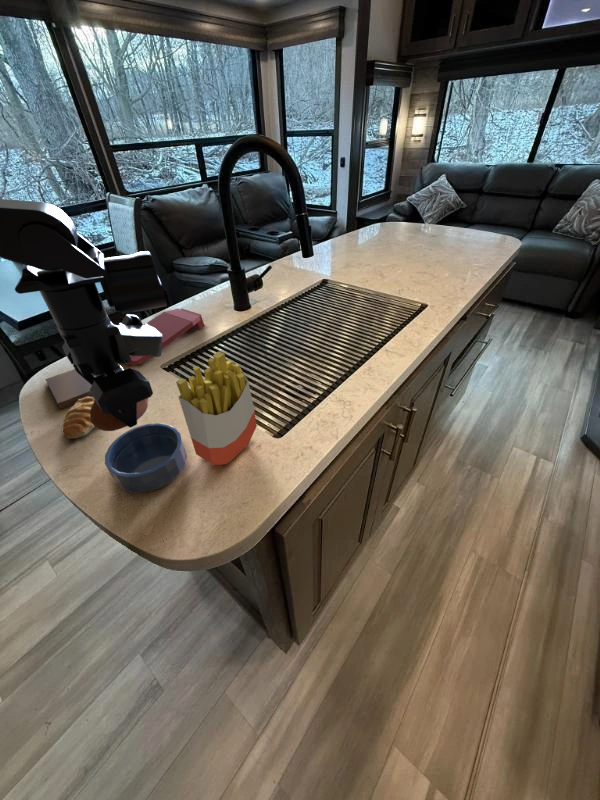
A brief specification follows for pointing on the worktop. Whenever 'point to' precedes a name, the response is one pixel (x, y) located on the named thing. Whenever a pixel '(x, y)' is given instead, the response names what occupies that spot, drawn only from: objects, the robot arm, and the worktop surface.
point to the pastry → (79, 419)
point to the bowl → (146, 457)
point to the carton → (171, 328)
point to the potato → (112, 417)
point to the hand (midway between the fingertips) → (124, 413)
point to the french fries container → (218, 410)
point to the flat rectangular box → (69, 388)
